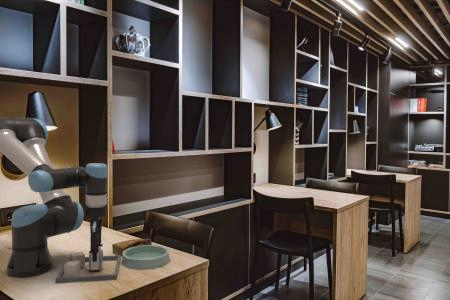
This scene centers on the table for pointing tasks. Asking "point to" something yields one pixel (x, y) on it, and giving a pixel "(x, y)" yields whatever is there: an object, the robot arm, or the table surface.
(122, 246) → the stone
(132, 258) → the bowl
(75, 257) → the pale grey block
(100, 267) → the grey square pillar
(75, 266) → the light grey block
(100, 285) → the table surface
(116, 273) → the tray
